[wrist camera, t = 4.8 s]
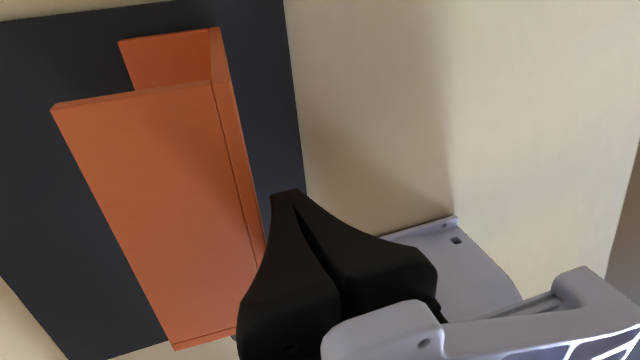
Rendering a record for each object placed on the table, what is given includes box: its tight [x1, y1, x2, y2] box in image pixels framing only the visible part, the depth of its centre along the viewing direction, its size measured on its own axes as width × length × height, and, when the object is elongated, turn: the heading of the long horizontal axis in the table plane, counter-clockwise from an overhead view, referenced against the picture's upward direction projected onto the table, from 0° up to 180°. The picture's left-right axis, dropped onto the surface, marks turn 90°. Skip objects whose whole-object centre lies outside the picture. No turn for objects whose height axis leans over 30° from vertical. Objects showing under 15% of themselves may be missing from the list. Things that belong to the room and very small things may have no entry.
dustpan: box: [50, 27, 267, 351], centre depth 18 cm, size 4×17×9 cm, turn 5°
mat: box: [0, 0, 307, 360], centre depth 22 cm, size 18×22×1 cm
